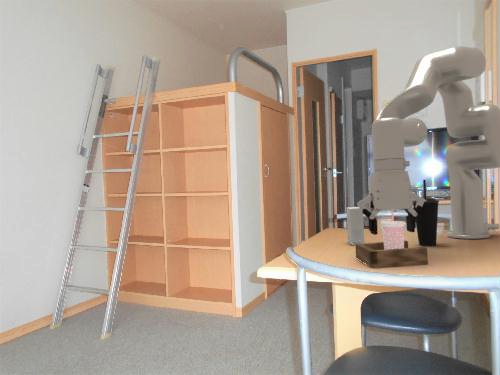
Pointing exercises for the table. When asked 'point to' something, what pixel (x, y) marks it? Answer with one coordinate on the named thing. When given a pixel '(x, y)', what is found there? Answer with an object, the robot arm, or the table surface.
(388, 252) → the dark wooden tray
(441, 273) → the table surface
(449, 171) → the robot arm
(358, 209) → the skincare box
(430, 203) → the drinking cup
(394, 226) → the beverage cup
